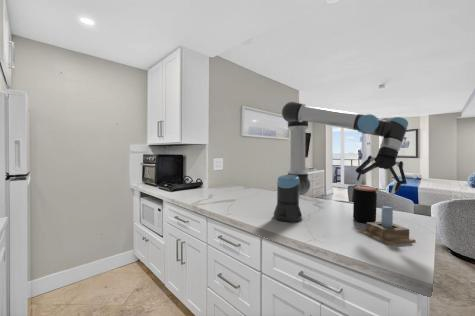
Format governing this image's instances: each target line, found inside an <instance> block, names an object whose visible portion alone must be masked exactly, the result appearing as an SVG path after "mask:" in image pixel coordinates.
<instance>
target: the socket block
mask: <svg viewBox="0 0 475 316" xmlns="http://www.w3.org/2000/svg"><path fill="white" fill-rule="evenodd" d="M365 225H366V226H365V229H362V230H361V229H360V233H362V234H364V235H366V236H368V237H370V238H373V239H375V240H377V241H379V242H382V243H384V244H386V245H396V244H397V245H398V244H405V243H406V244H408V243H416V239H414V238H411V237H410V229H409V228H406V227H404V226H400V225H399V224H395V223H392V228H388V229H387V228H385V227H382V226H381V221H375V222H367V223H365Z"/></svg>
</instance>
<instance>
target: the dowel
mask: <svg viewBox="0 0 475 316" xmlns="http://www.w3.org/2000/svg"><path fill="white" fill-rule="evenodd" d="M393 214H394V207H392V206H387V205H386V206H385V205H384V206H381V220H380V222H381V226H382V227H385V228H387V229H388V228H392V223H393V218H394V217H393V216H394V215H393ZM393 224H394V223H393Z"/></svg>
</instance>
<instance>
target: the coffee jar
mask: <svg viewBox="0 0 475 316" xmlns="http://www.w3.org/2000/svg"><path fill="white" fill-rule="evenodd" d="M356 186H357V185H355V186H354V187H353V189H354V191H353V203H352V204H353V209H352V211H353V213H352V218H353V220H354V221H356V222H357V223H361V224H366V223H367V222H377V203H378V202H377V199H378V198H377V197H378V196H377V195H378V194H377V190H378V188H377V187H373V186H363V185H361V186H360V189H359V188H357V187H356Z"/></svg>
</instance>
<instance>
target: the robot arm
mask: <svg viewBox="0 0 475 316" xmlns="http://www.w3.org/2000/svg"><path fill="white" fill-rule="evenodd" d="M281 116H282V118H283V120H285V122H287V128H288V129H289V131H290V164H289V165H290V170H289V171H288V172H287V174H282V175H280V176H278V177H277V182H276V185H277V188H276V189H277V190H276V191H277V193H276V195H277V197H276V200H277V201H276V206H275V208H274V212H273V219H274V220H276V221H279V222H284V223H285V222H286V223H296V222H301V221H302V219H303V215H302V212H301V208H300V196H303V195H305V194H307V192H309V190H310V188H311V181H310V179H309V173H308V172H307V170H306V130H307V129H308V128H309V123H314V124H320V125H325V126H330V127H337V128H343V129H348V130H354V131H357V132H358V133H360V134H365V135H366V134H367V135H371V136H372V135H373V136H377V137H383V138H382V141H381V143H380V148H379V149H378V152H377V154H376V156H375V157H374V156H372V155H368V156H367V158H366V159H365V161H363V163H361V164H360V165H359V166H358V167H357V168H356V169H355V172H356V173H357V178H356V181H357V184H356V185H355V186H356V187H357V188H359V189H360V186H362V182H363V180H364V177H365V174H367V173H368V172H370V171H372V170H374V169H376V168H379V169H384V170H389V171H390V173H391V175H392V176H393V178H394V179H395V182H394V184H393V186H392V189H391V192H390V195H389V198H391V199H394V197H395V194H396V192H399V191H400V188H401V185H407V179H406V175H405V172H404V162H403V161H397V158H398V155H399V152H400V150H401V147H402V144H403V141H404V139H405V136H406V132H407V129H408V126H409V121H408V120H407V119H406V118H404V117H401V116H394V117H391V118H390V119H389V120H382V119H378V117H377V116H376V115H374V114H370V113H366V114H362V113H357V112H349V111H343V110H336V109H335V110H334V109H328V108H321V107H314V106H308V105H306V103H300V102H297V101H289V102H287V103H285V104H284V106H283V107H282V110H281ZM373 161H374V162H373ZM371 162H373V163H372V164H371V165H369V164H370V163H371ZM394 166H397V168H398V170H399V172H400V177H401V180H400V178H399V175H398V174H397V173H396V171H395V170H394V168H393V167H394Z"/></svg>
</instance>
